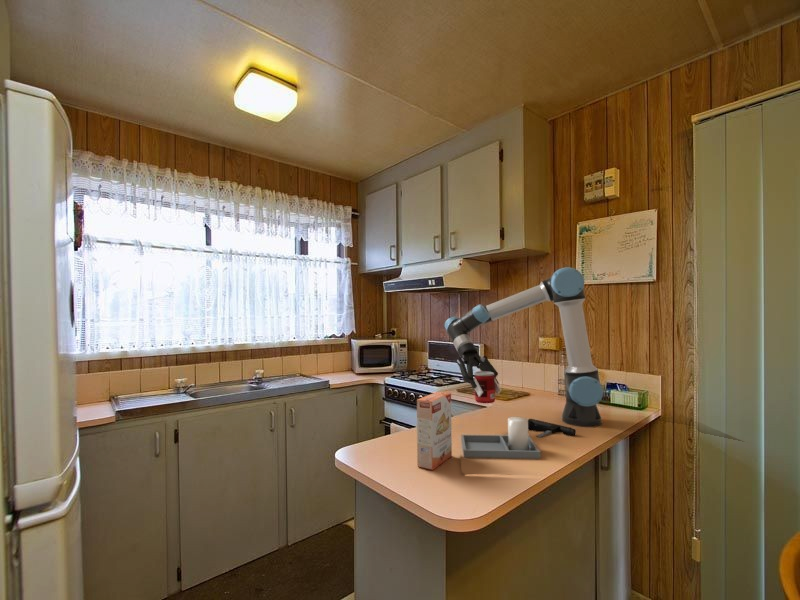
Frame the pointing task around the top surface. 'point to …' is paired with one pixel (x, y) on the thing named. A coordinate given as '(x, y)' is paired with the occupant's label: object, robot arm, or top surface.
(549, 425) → the toy submachine gun
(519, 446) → the ceramic jar
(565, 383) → the robot arm
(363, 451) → the top surface
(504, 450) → the caddy
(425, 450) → the cracker box
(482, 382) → the canned food
